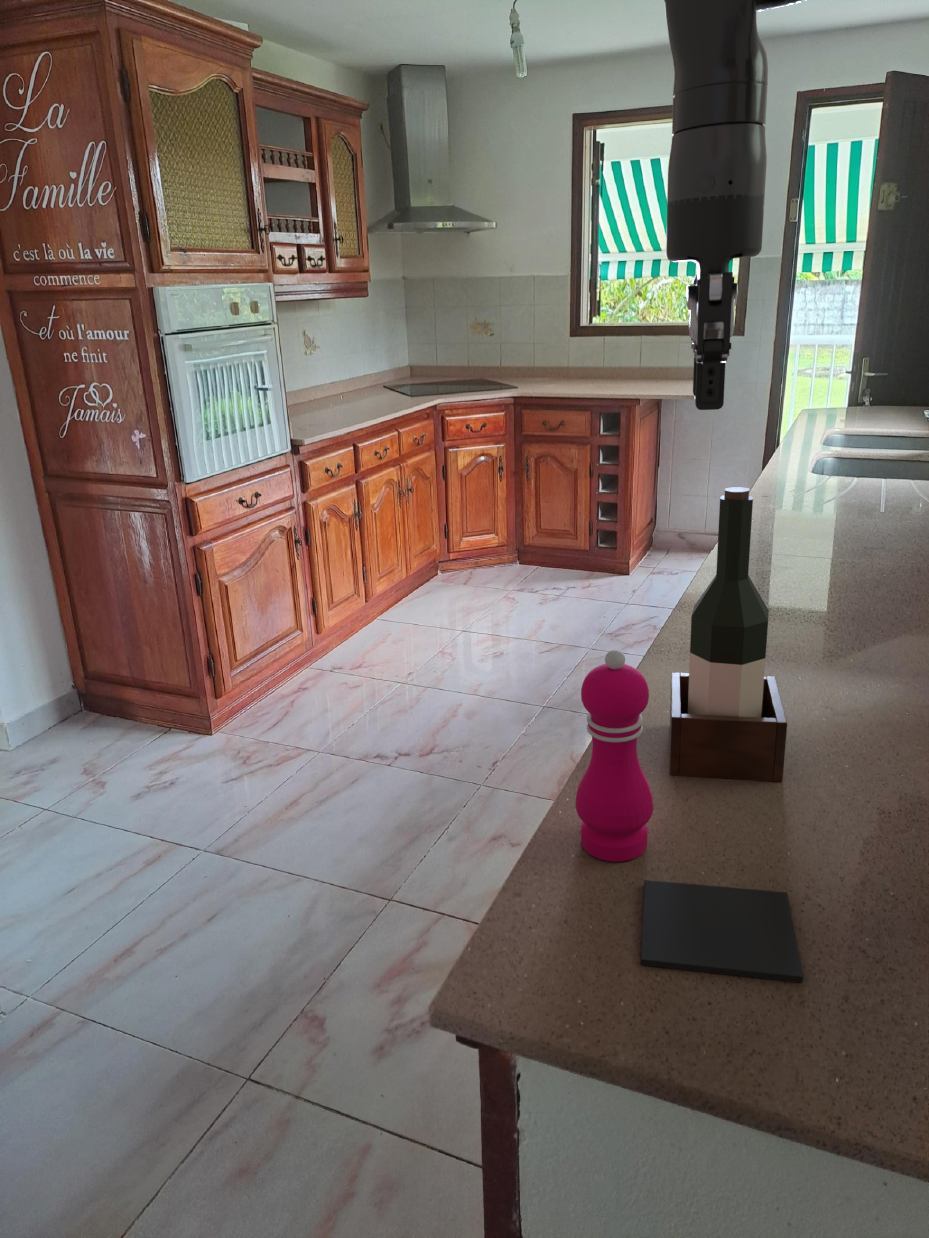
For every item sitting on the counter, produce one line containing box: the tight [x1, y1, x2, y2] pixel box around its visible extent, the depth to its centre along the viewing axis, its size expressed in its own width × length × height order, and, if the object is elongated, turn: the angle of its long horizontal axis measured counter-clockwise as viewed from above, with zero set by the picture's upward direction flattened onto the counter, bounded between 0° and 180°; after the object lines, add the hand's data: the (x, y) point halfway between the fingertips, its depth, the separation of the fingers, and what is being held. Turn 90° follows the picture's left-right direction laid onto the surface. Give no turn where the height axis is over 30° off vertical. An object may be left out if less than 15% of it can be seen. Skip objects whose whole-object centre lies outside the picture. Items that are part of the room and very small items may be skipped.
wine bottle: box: [688, 486, 770, 718], centre depth 94 cm, size 8×8×30 cm
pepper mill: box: [575, 649, 654, 863], centre depth 81 cm, size 7×7×20 cm
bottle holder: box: [669, 672, 788, 783], centre depth 98 cm, size 12×12×7 cm
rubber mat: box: [640, 879, 804, 983], centre depth 72 cm, size 12×10×1 cm
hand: (707, 402), depth 76 cm, fingers open, 8 cm apart
